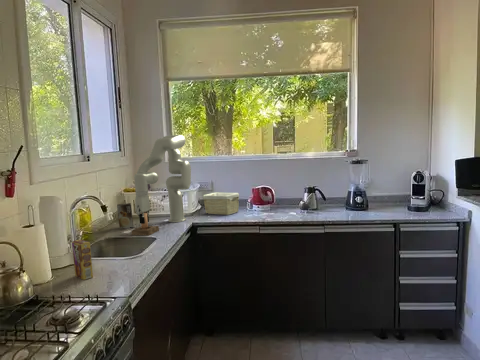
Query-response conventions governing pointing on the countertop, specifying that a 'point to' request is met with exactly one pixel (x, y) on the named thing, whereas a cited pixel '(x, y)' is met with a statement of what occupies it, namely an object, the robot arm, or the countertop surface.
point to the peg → (145, 225)
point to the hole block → (145, 230)
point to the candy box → (82, 259)
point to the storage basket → (221, 203)
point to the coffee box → (125, 215)
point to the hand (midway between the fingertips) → (144, 222)
